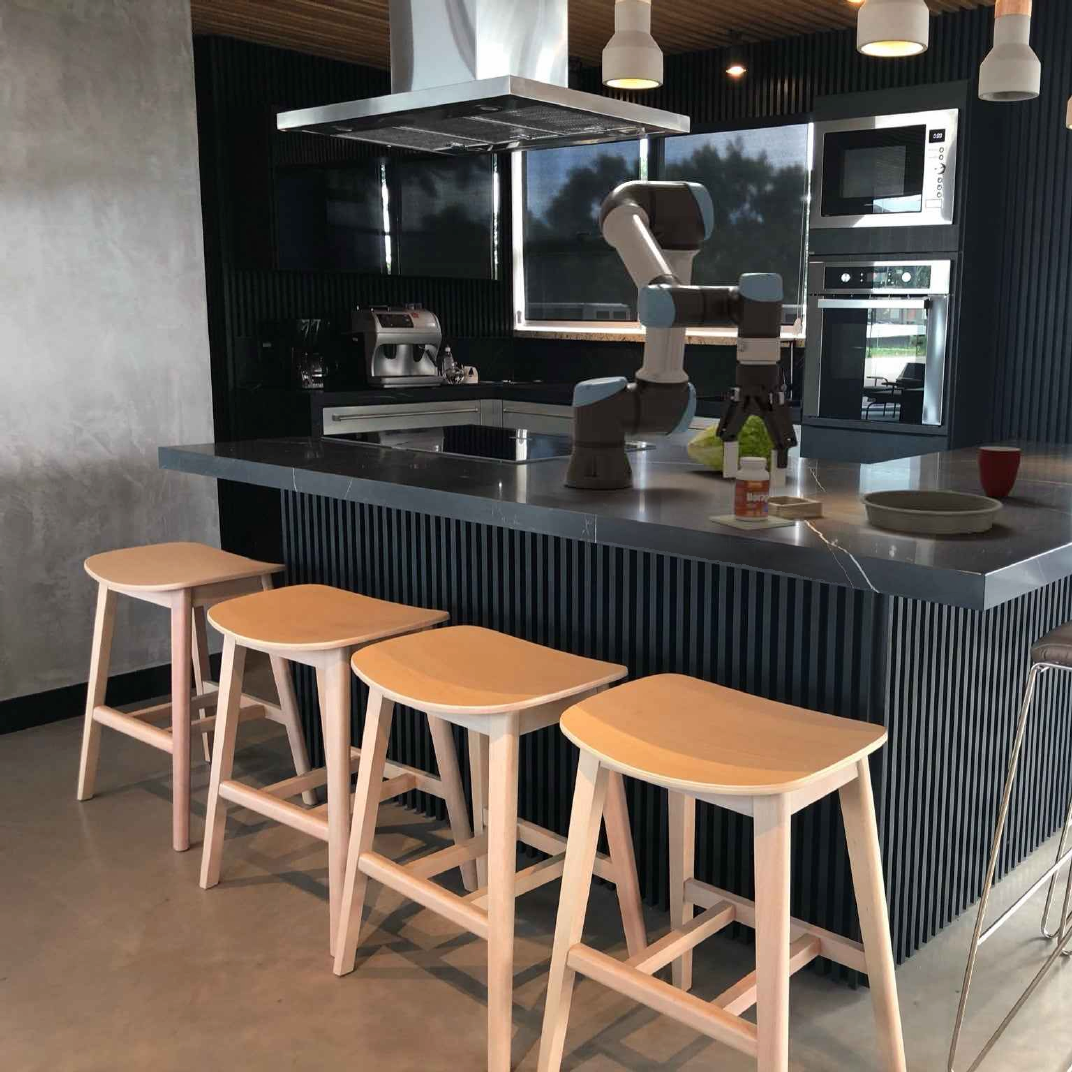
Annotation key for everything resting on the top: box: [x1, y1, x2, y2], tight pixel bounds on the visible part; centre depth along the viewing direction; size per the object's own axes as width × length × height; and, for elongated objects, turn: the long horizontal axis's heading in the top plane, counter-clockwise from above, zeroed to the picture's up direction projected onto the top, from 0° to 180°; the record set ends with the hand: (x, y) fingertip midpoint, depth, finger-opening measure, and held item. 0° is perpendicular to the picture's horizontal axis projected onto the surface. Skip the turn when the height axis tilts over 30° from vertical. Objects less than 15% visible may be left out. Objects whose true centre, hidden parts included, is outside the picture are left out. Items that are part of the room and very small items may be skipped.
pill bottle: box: [733, 457, 771, 521], centre depth 208 cm, size 6×6×11 cm
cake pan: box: [859, 489, 1004, 535], centre depth 209 cm, size 25×25×4 cm
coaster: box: [708, 514, 796, 531], centre depth 209 cm, size 11×11×1 cm
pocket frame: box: [768, 494, 823, 520], centre depth 218 cm, size 10×10×2 cm
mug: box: [977, 446, 1022, 499], centre depth 239 cm, size 11×8×10 cm
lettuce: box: [686, 415, 781, 474], centre depth 272 cm, size 17×24×14 cm
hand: (753, 481), depth 207 cm, fingers open, 13 cm apart
